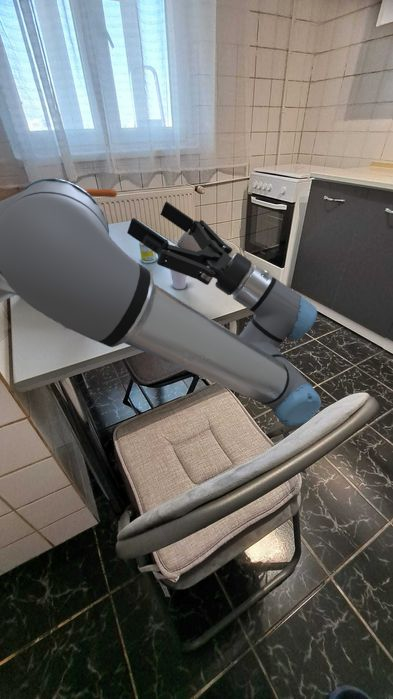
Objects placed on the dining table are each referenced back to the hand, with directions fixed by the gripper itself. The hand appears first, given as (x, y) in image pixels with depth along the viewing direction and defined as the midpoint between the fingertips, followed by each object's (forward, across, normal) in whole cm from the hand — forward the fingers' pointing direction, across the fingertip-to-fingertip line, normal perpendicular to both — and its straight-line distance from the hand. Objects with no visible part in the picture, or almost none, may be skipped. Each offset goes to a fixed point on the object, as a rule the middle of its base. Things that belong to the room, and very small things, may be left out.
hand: (148, 215), depth 55 cm
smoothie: (-8, -25, +25) cm, 36 cm away
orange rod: (+15, +1, +5) cm, 16 cm away
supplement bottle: (+8, -42, +35) cm, 55 cm away
